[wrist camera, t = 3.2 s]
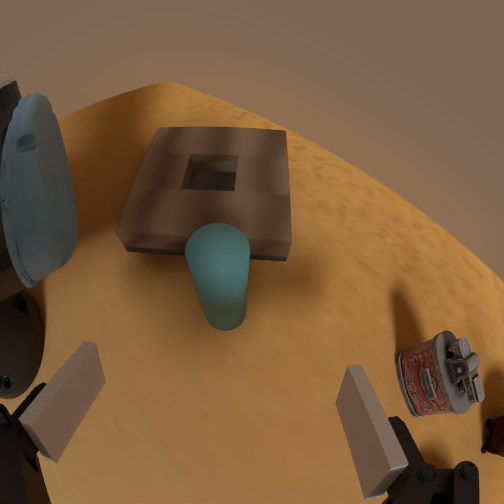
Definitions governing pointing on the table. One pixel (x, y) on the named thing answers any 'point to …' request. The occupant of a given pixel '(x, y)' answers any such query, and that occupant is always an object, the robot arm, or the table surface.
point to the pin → (220, 272)
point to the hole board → (210, 190)
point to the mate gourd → (495, 437)
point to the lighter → (439, 376)
